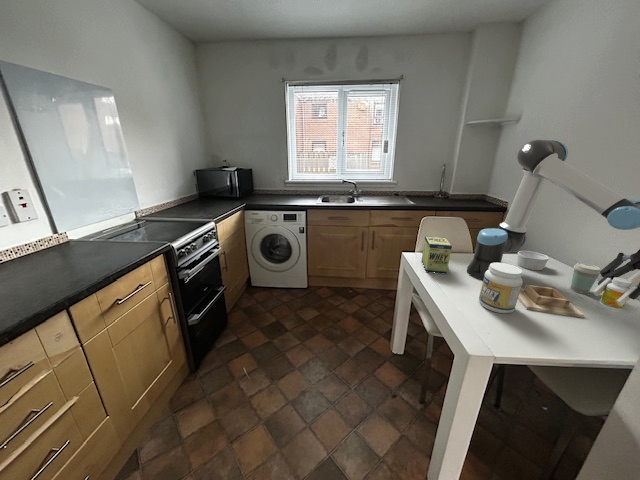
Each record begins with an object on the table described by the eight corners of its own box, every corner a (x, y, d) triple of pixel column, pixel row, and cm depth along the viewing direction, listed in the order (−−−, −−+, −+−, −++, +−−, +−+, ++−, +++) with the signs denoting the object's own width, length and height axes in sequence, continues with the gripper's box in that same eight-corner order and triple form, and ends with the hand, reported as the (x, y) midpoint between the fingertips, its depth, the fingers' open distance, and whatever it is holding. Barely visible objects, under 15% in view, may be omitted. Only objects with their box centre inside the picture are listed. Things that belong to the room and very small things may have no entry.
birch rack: (526, 309, 99) (529, 298, 98) (510, 289, 114) (512, 280, 112) (582, 317, 94) (587, 306, 93) (558, 296, 109) (561, 286, 107)
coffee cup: (598, 296, 109) (608, 271, 105) (575, 294, 111) (584, 269, 107) (582, 286, 117) (591, 263, 113) (561, 285, 119) (569, 261, 115)
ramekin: (514, 260, 148) (517, 248, 146) (543, 265, 141) (547, 253, 138) (515, 267, 138) (518, 255, 135) (546, 273, 130) (550, 261, 128)
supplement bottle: (594, 301, 87) (605, 276, 84) (608, 301, 87) (619, 276, 84) (613, 310, 82) (625, 284, 79) (627, 310, 82) (640, 283, 79)
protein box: (425, 272, 130) (429, 244, 126) (420, 261, 145) (424, 235, 140) (447, 274, 128) (452, 246, 123) (440, 262, 143) (444, 236, 138)
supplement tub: (471, 301, 104) (479, 264, 99) (490, 295, 109) (499, 259, 104) (501, 317, 94) (512, 277, 88) (521, 310, 98) (533, 271, 93)
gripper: (711, 267, 74) (648, 321, 76) (627, 245, 91) (577, 290, 93) (709, 252, 71) (644, 308, 73) (622, 232, 88) (571, 278, 90)
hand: (606, 298), depth 83 cm, fingers closed on supplement bottle, 5 cm apart
